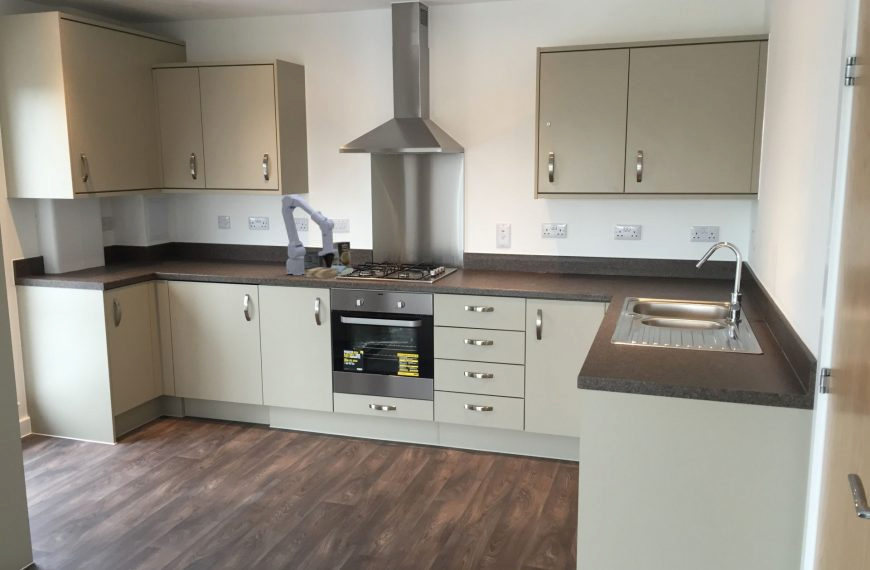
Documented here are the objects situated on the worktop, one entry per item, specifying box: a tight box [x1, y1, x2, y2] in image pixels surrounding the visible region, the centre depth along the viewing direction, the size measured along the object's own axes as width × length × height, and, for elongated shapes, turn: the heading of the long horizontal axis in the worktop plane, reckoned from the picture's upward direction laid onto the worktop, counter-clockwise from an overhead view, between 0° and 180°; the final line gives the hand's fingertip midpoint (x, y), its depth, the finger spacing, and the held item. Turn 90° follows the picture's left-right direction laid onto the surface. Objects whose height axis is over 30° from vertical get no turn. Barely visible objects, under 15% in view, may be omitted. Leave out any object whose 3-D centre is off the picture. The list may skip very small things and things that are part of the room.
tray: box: [337, 267, 355, 277], centre depth 401 cm, size 14×11×2 cm
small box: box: [304, 250, 325, 270], centre depth 426 cm, size 11×6×10 cm, turn 80°
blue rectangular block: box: [330, 265, 346, 274], centre depth 401 cm, size 9×6×2 cm, turn 61°
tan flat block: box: [305, 267, 338, 279], centre depth 393 cm, size 13×11×4 cm
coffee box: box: [332, 241, 352, 268], centre depth 414 cm, size 9×6×16 cm
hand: (329, 267), depth 395 cm, fingers closed
